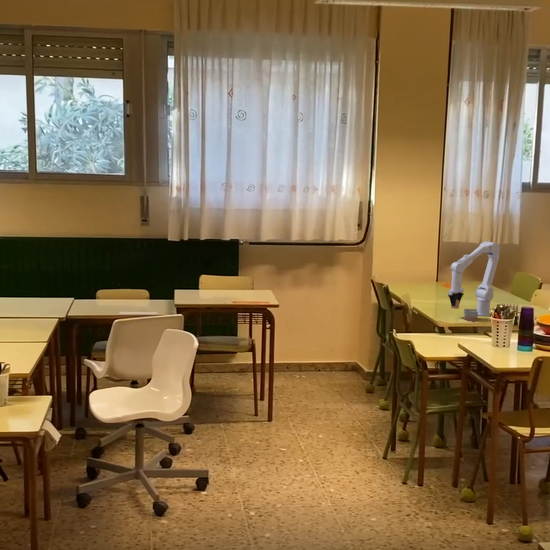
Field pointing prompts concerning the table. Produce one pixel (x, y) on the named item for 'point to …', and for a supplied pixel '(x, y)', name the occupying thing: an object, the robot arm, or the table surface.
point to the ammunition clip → (516, 313)
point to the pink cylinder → (456, 305)
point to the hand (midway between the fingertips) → (455, 305)
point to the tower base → (470, 318)
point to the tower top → (471, 312)
